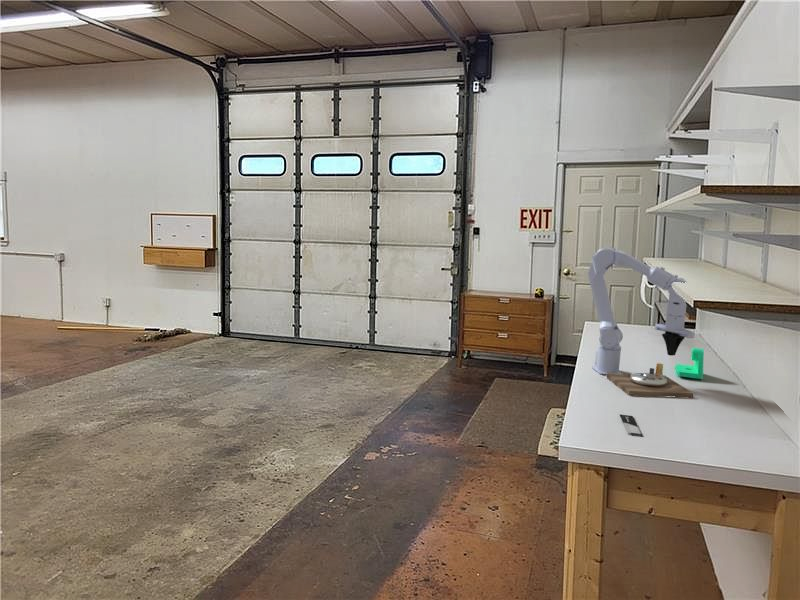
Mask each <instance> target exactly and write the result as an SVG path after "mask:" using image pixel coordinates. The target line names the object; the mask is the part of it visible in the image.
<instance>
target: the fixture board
mask: <svg viewBox="0 0 800 600" xmlns="http://www.w3.org/2000/svg"><path fill="white" fill-rule="evenodd" d="M631 374H632V373H622V374H614V373H607V375H606V376H605V377H607V378H606V379H608V380H609V381H610V382H611V381H612V382H611V383H612V384H614V385H615V386H616V387H617V388H618V389H620V390H621V389H622V391H623V392H624V393H625V394H626V393H627V394H626V395H627V396H629V395H637V396H636V397H639V396H640V397H654V396H675V397H674V398H681V397H688V398H689V399H694V392H692V391H691V390H689V389H688V388H686V387H684V386H683V385H681V384H679V383H677V382H676V381H674V380H673V379H671V378H670V377H668V376H667V375H666V374H665V375H664V374H663V376H662V377H664V378H666V379H667V384H666V385H664V386H648V385H642V384H638V383H635V382H633V381H631V380H630V375H631ZM688 398H687V399H688Z"/></svg>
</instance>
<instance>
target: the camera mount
mask: <svg viewBox="0 0 800 600" xmlns="http://www.w3.org/2000/svg"><path fill="white" fill-rule="evenodd" d="M704 352H705V351H704V348H696V347H692V349H691V354H690V358H691V361H694V363H693V365H689V364H681V363H675V367H674V369H675V372H676V373H675V375H676V374H677V375H678V376H677V375H676V376H677V377H681V378H683V377H684V378H691V379H697V380H698V379H701V380H703V377H704Z"/></svg>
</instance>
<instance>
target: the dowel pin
mask: <svg viewBox="0 0 800 600" xmlns="http://www.w3.org/2000/svg"><path fill="white" fill-rule="evenodd" d="M648 373H650V374H654V373H655V368H653V367H652V368H651V367H650V368H649V372H648Z"/></svg>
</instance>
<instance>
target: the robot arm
mask: <svg viewBox="0 0 800 600" xmlns="http://www.w3.org/2000/svg"><path fill="white" fill-rule="evenodd" d="M612 266H626V267H628V268H630V269H632V270H634V271H636V272H638V273H640V274H641V275H644V276H646V280H647V282H649V283H650V284H652V285H654V286H656V287H658V288H659V289H661V290H663V291H668V294H669V295H668V301H667V307H666V315H665V324H661V323H656V324H655V325H654V330H655V331H661V332H663V333H661V336H662V338H663V340H664V343H665V347H666V353H667V355H668V356H676V354H677V351H678V348H679V347H680V345H681V344H682V342H683V341H684V339H685V338H687V339H694V338H695V332H694V331H691V330H688V329H686V327H685V319H686V312H687V305H688V304H686V303H685V302H684V301H683V299H682V298H680V297H679V296H678V295H677V294H676V293H675V291H674V290H673V288H672V285H671V284H672V283H673V282H681V283H682V282H683V283H685V282H687V281H686V279H684V278H683V277H679V275H678V274H672V273H671V272H668V271H667V270H666V268H665V267H663V266H654V267H651V266H649V265H647V264H646V263H644V262H642V261H640V260H639V259H638V258H636V257H634V256H632V255H630V254H628V253H627V252H625V251H623V250H620V249H616V248H615V247H612V246H607V247H602V248H599V249H598V250H597V251H596V252H595V253H594V255H593V256H592V258H591V262H590V265H589V268H588V271H587V277H588V280H589V285H590V288H591V294H592V297H593V300H594V304H595V309H596V314H597V316H598V317H597V318H598V321H599V337H598V338H599V339H598V340H599V345H598V347H597V348H596V350H595V359H594V365H593V366H591V368H592V369H593V370H595V371H596V372H597V373H598V374H599V375H607V373H614V374H623V372H621V371H620V362H621V352H622V347H621V345H620V343H621V342H622V340H623V336H624V335H623V332H622V330H621V329H620V328H619V326H618V323H617V321H616V320H615V316H614V313H613V310H612V309H613V308H612V306H611V305H612V304H611V300H610V296H609V293H608V289H607V286H606V285H607V284H606V281H605V274H606V273H607V271H608V270H609V269H610V267H612ZM664 332H665V333H664Z"/></svg>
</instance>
